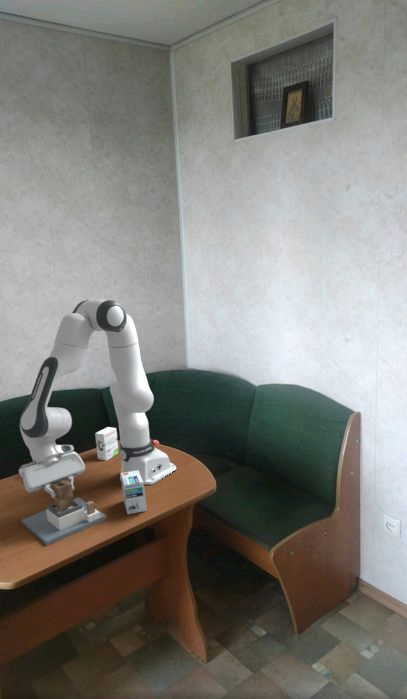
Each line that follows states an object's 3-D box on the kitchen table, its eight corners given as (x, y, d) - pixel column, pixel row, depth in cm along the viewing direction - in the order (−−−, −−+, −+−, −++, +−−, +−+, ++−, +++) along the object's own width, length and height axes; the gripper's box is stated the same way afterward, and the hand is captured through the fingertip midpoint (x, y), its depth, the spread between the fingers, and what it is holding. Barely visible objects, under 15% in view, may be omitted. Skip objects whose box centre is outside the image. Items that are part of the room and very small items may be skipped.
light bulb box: (147, 511, 179) (144, 481, 177) (127, 515, 177) (124, 485, 175) (141, 497, 189) (139, 469, 187) (122, 501, 188) (120, 472, 185)
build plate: (78, 500, 190) (76, 483, 188) (106, 519, 176) (104, 500, 174) (21, 523, 176) (19, 504, 175) (47, 545, 162) (44, 525, 161)
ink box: (110, 451, 232) (107, 426, 230) (119, 453, 230) (116, 427, 228) (97, 459, 225) (94, 432, 223) (106, 461, 223) (103, 434, 220)
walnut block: (67, 500, 176) (64, 477, 175) (73, 505, 173) (71, 481, 171) (54, 505, 173) (52, 482, 172) (61, 510, 170) (58, 486, 168)
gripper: (18, 462, 168) (35, 501, 163) (76, 443, 181) (94, 478, 176) (14, 471, 173) (31, 509, 167) (71, 452, 186) (88, 487, 180)
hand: (63, 493), depth 172 cm, fingers closed on walnut block, 4 cm apart
